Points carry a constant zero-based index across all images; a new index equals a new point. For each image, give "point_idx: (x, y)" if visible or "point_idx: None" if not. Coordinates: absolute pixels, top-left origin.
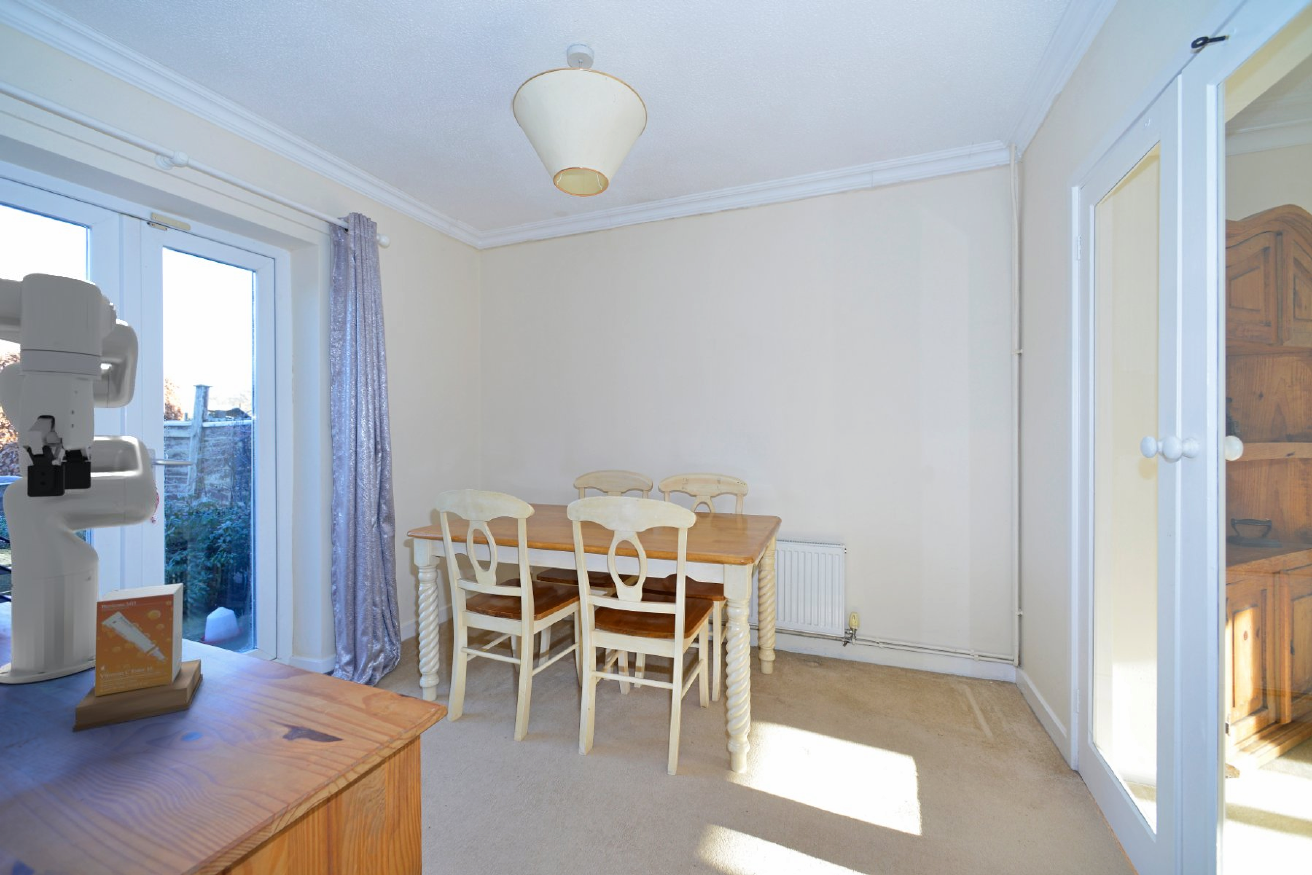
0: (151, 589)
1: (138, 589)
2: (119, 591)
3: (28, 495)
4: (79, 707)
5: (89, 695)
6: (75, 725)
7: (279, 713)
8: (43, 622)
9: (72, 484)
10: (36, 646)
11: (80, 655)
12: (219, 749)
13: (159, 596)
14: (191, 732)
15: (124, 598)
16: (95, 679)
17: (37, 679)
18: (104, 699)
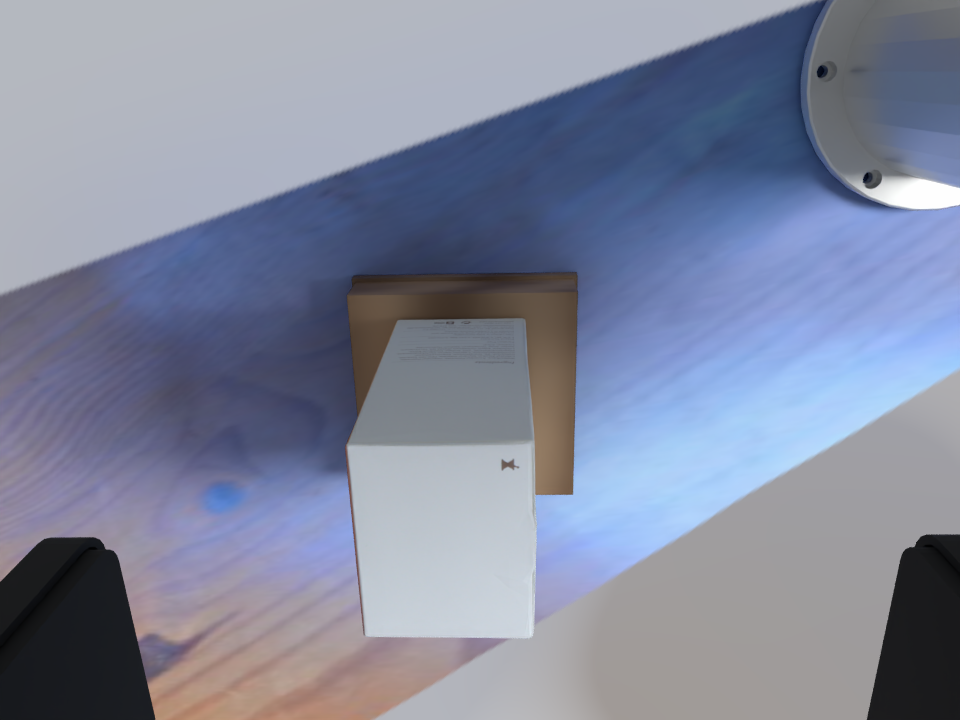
0: (458, 569)
1: (482, 530)
2: (483, 478)
3: (49, 542)
4: (347, 302)
5: (423, 301)
6: (354, 283)
7: (261, 624)
8: (935, 69)
9: (905, 673)
10: (892, 48)
11: (879, 156)
12: (142, 546)
13: (360, 600)
14: (241, 493)
15: (359, 515)
16: (392, 335)
17: (804, 66)
18: (375, 342)
